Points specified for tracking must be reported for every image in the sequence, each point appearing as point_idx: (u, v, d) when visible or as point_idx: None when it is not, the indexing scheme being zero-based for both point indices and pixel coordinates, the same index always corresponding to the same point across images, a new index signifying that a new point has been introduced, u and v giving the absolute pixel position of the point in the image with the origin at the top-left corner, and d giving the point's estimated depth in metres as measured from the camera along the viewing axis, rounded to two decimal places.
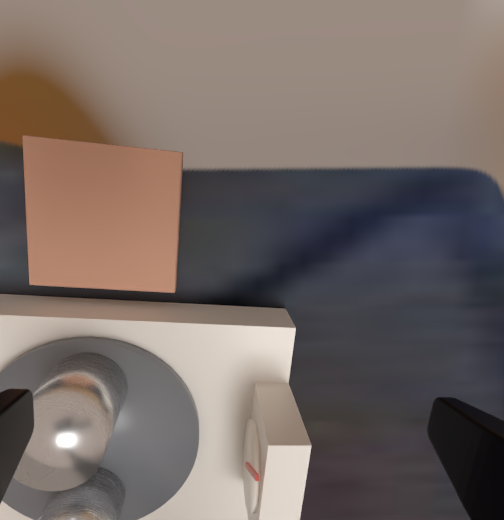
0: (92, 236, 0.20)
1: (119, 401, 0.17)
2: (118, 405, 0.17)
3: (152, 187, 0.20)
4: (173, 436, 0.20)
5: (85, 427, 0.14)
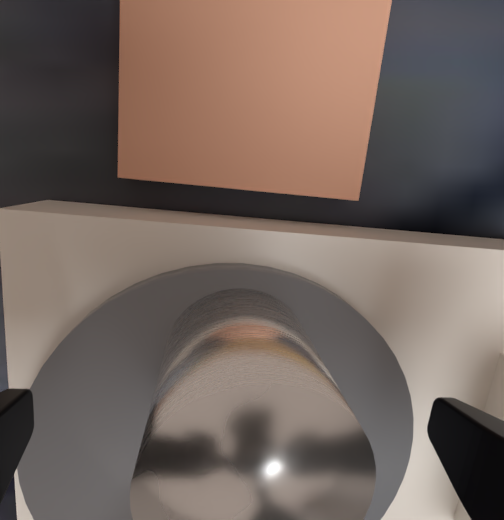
0: (232, 88, 0.11)
1: None
2: None
3: None
4: None
5: (345, 434, 0.06)
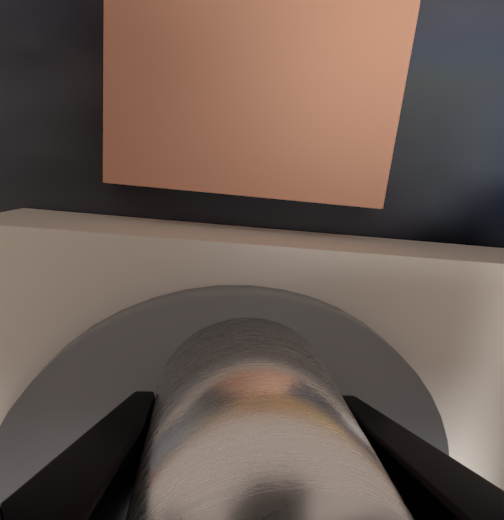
0: (237, 77, 0.09)
1: None
2: None
3: None
4: None
5: None
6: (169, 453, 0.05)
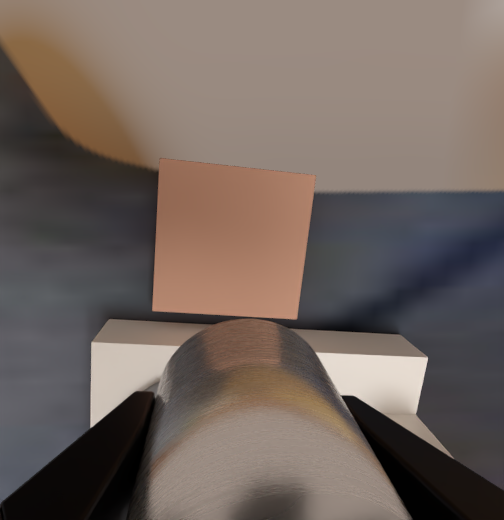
0: (219, 261, 0.19)
1: None
2: None
3: (283, 211, 0.19)
4: None
5: None
6: (169, 455, 0.05)
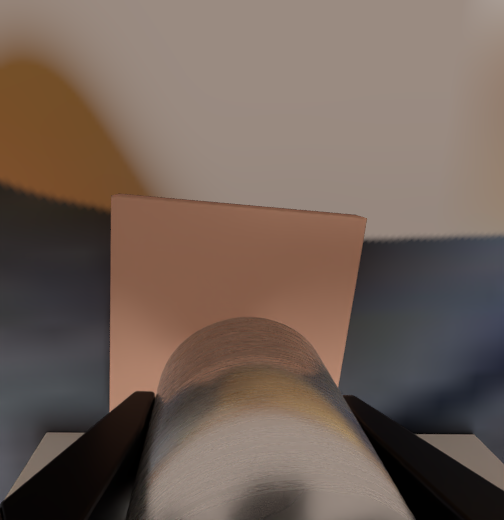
0: None
1: None
2: None
3: (314, 275, 0.12)
4: None
5: None
6: (169, 453, 0.05)
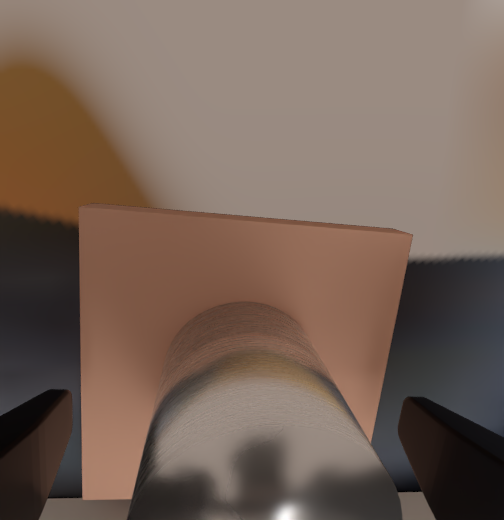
0: None
1: None
2: None
3: (344, 307, 0.09)
4: None
5: (368, 480, 0.05)
6: (177, 406, 0.06)
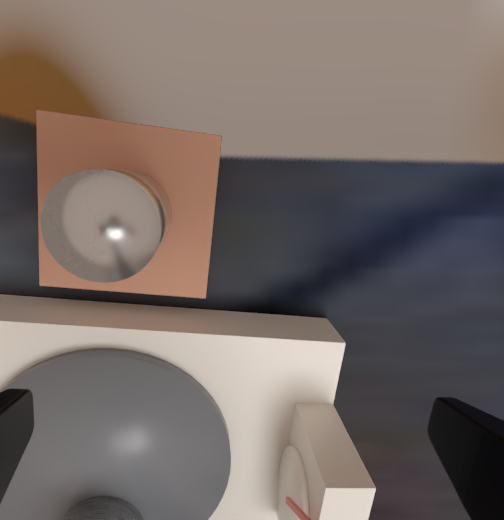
0: None
1: (167, 215, 0.15)
2: (167, 217, 0.15)
3: (185, 176, 0.17)
4: (201, 463, 0.18)
5: (141, 200, 0.12)
6: None
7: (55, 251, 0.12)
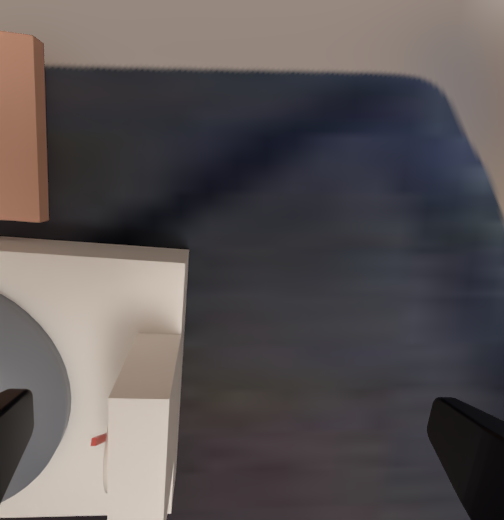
0: None
1: None
2: None
3: None
4: None
5: None
6: None
7: None
